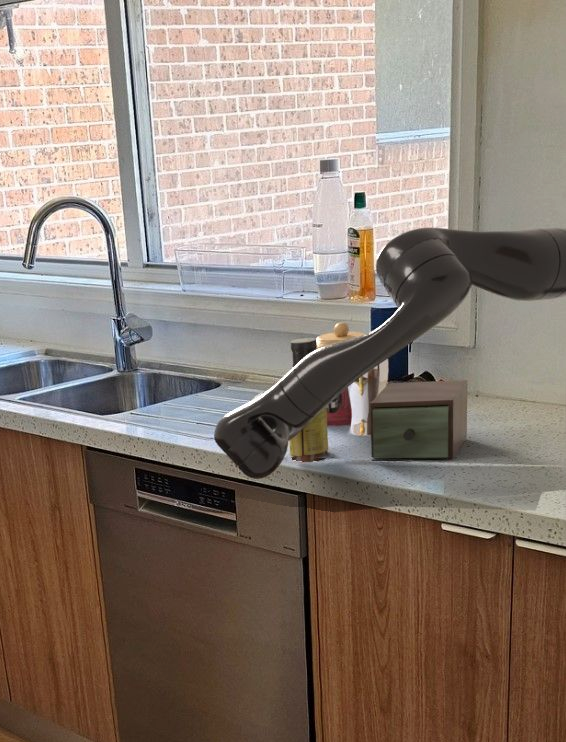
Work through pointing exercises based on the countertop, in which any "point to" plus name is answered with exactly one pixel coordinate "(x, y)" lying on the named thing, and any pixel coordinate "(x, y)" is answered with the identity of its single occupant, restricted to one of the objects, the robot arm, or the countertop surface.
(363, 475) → the countertop surface
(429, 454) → the drawer
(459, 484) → the countertop surface
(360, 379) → the beer glass
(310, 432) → the sauce bottle
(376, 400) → the cabinet
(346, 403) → the kitchen canister
